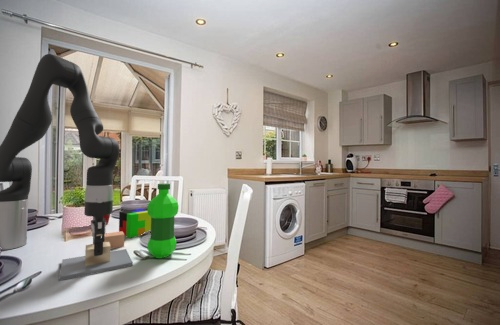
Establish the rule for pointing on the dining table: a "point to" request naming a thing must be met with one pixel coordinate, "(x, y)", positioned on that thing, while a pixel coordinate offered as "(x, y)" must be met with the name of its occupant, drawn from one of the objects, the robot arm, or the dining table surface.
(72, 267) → the baseplate
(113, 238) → the terracotta block
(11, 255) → the dining table surface
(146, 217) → the puzzle toy
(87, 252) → the beech block
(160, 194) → the plastic bottle
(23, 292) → the dining table surface
